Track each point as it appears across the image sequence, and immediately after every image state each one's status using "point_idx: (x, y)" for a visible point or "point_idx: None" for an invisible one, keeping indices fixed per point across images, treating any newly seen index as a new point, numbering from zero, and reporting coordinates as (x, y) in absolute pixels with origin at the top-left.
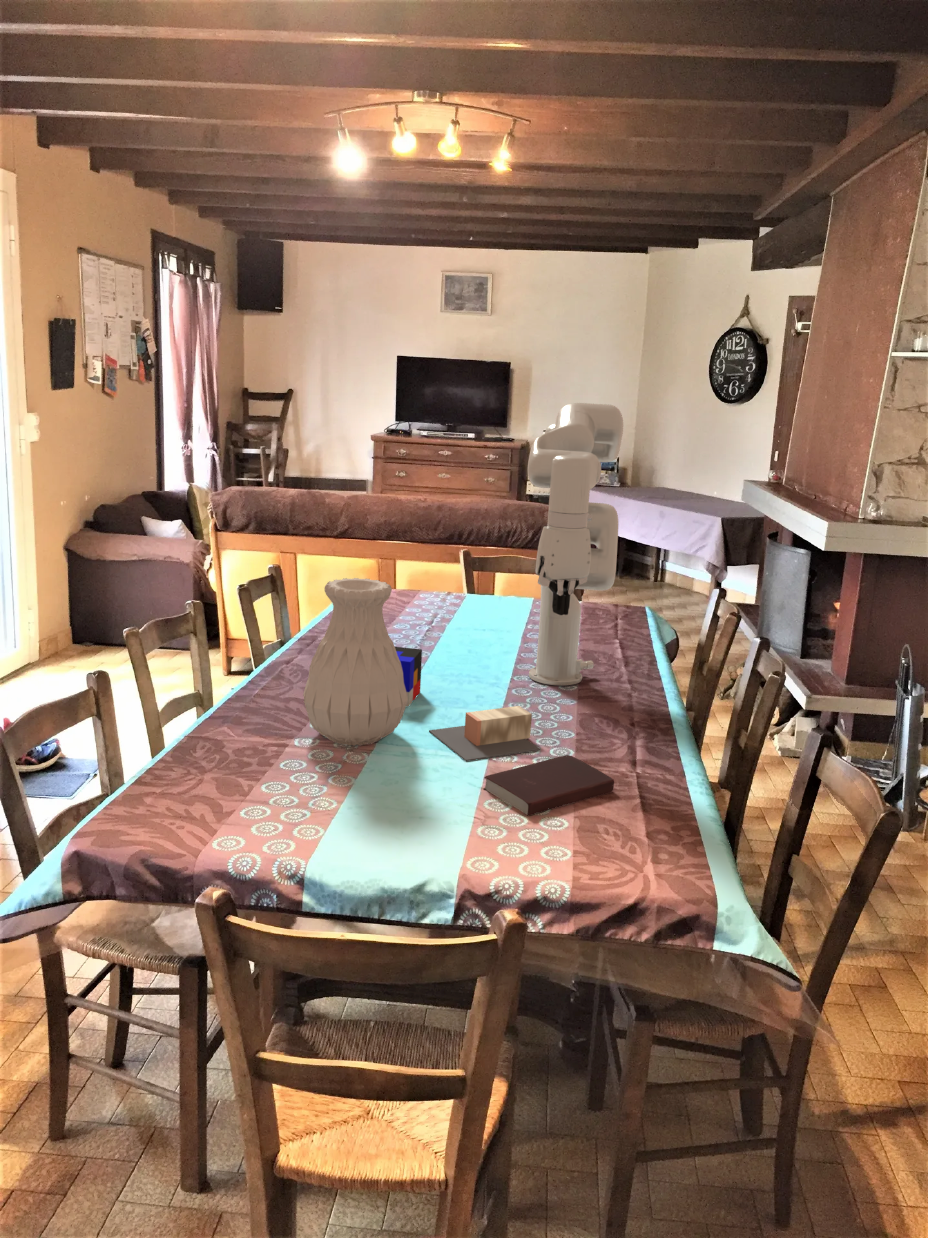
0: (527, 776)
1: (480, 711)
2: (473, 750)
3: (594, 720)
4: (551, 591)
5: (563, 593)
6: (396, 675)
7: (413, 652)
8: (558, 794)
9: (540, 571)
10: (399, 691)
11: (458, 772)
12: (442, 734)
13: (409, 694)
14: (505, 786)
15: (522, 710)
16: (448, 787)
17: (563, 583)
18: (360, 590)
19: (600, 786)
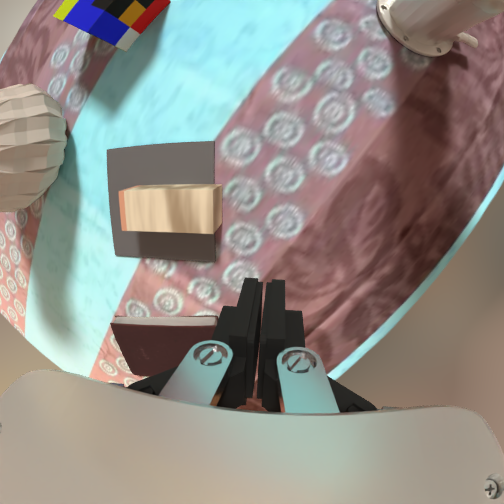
0: (146, 346)
1: (139, 193)
2: (131, 233)
3: (368, 193)
4: (196, 349)
5: (263, 382)
6: (3, 197)
7: None
8: None
9: (49, 386)
10: (21, 193)
11: (103, 275)
12: (115, 169)
13: (118, 45)
14: (121, 349)
15: (206, 212)
16: (89, 299)
17: (282, 405)
18: None
19: None
